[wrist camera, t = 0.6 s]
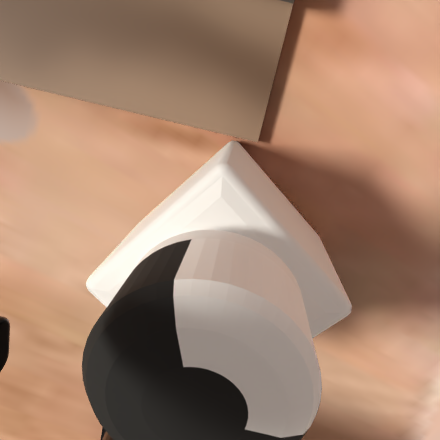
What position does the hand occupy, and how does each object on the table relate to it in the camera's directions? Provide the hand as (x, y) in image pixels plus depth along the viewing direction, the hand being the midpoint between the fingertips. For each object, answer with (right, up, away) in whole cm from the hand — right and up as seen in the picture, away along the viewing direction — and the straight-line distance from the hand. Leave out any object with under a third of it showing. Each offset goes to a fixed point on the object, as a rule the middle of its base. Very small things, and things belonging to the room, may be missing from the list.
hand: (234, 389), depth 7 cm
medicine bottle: (0, +3, +13) cm, 13 cm away
